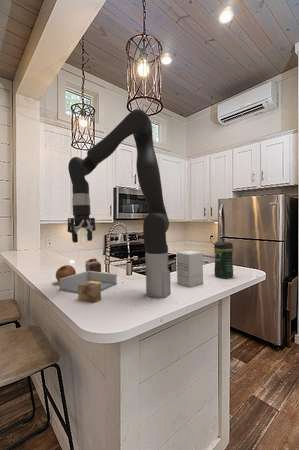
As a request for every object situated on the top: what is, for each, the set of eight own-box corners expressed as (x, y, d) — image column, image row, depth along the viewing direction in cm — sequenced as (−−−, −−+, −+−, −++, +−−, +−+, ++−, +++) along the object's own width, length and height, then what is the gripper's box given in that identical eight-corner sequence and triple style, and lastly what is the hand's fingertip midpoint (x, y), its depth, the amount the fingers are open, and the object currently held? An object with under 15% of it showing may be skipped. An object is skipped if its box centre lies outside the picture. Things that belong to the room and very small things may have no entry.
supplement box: (190, 280, 117) (190, 250, 117) (203, 284, 110) (203, 252, 109) (176, 283, 112) (176, 251, 112) (189, 287, 105) (188, 254, 104)
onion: (64, 291, 112) (60, 274, 107) (54, 283, 118) (49, 267, 113) (81, 280, 119) (77, 264, 114) (70, 273, 124) (66, 257, 119)
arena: (116, 284, 111) (116, 274, 111) (90, 295, 95) (90, 283, 95) (88, 280, 120) (87, 270, 120) (59, 290, 104) (59, 278, 104)
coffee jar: (236, 277, 120) (235, 241, 119) (223, 279, 117) (222, 242, 117) (224, 273, 129) (223, 240, 129) (211, 275, 126) (211, 241, 126)
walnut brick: (101, 299, 90) (100, 284, 90) (94, 303, 87) (93, 287, 87) (85, 296, 94) (85, 282, 94) (78, 299, 91) (77, 284, 90)
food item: (84, 274, 134) (83, 257, 134) (98, 272, 137) (97, 256, 137) (88, 279, 122) (88, 260, 121) (104, 277, 125) (103, 259, 125)
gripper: (75, 203, 94) (76, 243, 94) (98, 204, 106) (100, 240, 107) (62, 204, 98) (63, 243, 98) (86, 205, 110) (88, 240, 110)
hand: (82, 241), depth 102 cm, fingers open, 8 cm apart
